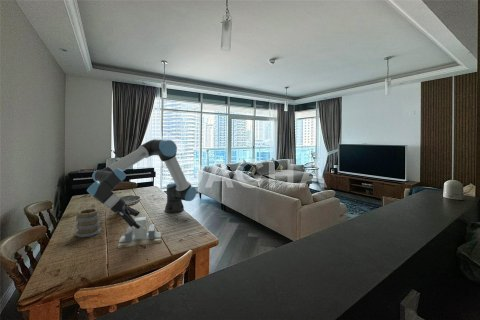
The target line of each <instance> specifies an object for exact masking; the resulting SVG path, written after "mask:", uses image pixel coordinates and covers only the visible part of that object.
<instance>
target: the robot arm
mask: <svg viewBox="0 0 480 320" xmlns="http://www.w3.org/2000/svg"><path fill="white" fill-rule="evenodd" d="M177 149H178V146H177V144H176V143H175V142H174V140H171V139H168V138H163V139H157V138H154V139H151V140H149V141H146V142H144V143H143V144H141V145H139V146H138V148H137V149H135V150H134V151H132V152H130V153H128V154H127V155H125V156H123V157H121V158H120V159H118V160H116V161H115V162H113V163H111V164H109V165H107V166H106V167H104V168H103V169H97V170H95V171H93V173H92V175H91V178H92V180H93V181H94V182H93V183H92V184H90V186H89V187H88V188H87V189H86V192H87V193H88V194H89V195H90V196H92V197H93V198H94V199H96V200H97V201H99V202H100V203H101V204H103V205H104V207H107V208H108V209H110V211H112V212H113V213H114V214H116V213H118V215H119V216H120V217H121V218H122V219H123V220H124V222H126V224H127V225H128V226H129V227H132V226H133V228H134V227H135V228H136V229H138V230H139V231H140V232H142V233H143V232H144V231H145V230H146V228H144V227H143V226H142V225H140V224H139V223H138V222H135V218H138V217H144V216H143V215H141V214H140V213H141V212H140V211H139V210H136V209H134V208H133V207H131V206H129V205H127V204H126V201H124V200H123V198H120V196H118V195H117V194H116V193H115V192H113V191H114V189H115V188H116V187H118V186H119V185H120V184H121V183H122V182H123V181H124V180H125V179H126V178H127V174H126V173H125V172H124V171H126V170H127V169H129V168H131V167H132V166H134V165H136V164H137V163H139V162H140V161H142V160H144V159H148V158H149V157H152V156H158V157H159V159H160V162H164V164H165V166H166V168H167V170H168V172H169V174H170V176H171V177H172V180H173V182H169V183H167V185H166V203H165V207H164V212H166V213H168V214H169V213H170V214H175V213H176V212H177V213H180V212H179V211H181V212H183V211H184V209H185V207H184V204H183V201H186V202H192V201H193V200H194V199H195V198H196V195H197V189H196V187H195V186H192V184H191V182H190V181H188V180H187V179H186V176H185V174H184V172H183V170H182V168H181V165H180V163H179V161H178V159H177V157H176V156H177V153H178V152H177ZM182 210H183V211H182ZM133 217H134V218H133ZM147 221H148V219H147V218H146V223H147Z"/></svg>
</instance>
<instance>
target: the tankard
mask: <svg viewBox="0 0 480 320" xmlns="http://www.w3.org/2000/svg"><path fill="white" fill-rule="evenodd" d="M100 217H101V213H100V212H99V209H97V208H96V204H94V203H92V205H91V207H90V208H86V209H82V210H79V211H77V213H76V217H75V220H76V221H77V224H76V229H77V231H75V236H77V237H79V238H87V237H92V236H95V235H98V234H100V233H101V232H102V230H103V229H102V227H101V226H100V225H101V220H100V219H99V218H100Z"/></svg>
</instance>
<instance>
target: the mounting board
mask: <svg viewBox="0 0 480 320" xmlns="http://www.w3.org/2000/svg"><path fill="white" fill-rule="evenodd" d="M161 242H162V231H155V238H154V239H149V232H147V236H146V238H143V239H135V234H134V235H133V238H132V241H131V242H126V243H125V235H122V236H120V239H118V245H117V248H118V249H121V248H127V247H136V246H143V245H144V246H145V245H151V244H152V245H153V244H158V243H161Z"/></svg>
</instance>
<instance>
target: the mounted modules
mask: <svg viewBox="0 0 480 320" xmlns="http://www.w3.org/2000/svg"><path fill="white" fill-rule="evenodd" d="M155 232H156V224H155V223H152V224H149V226H148V233H149V239H154V238H155ZM133 235H135V233H134V226H132V227H130V226H127V229H126V230H125V233H124V236H125V243H126V242H131V241H132V238H133Z"/></svg>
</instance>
